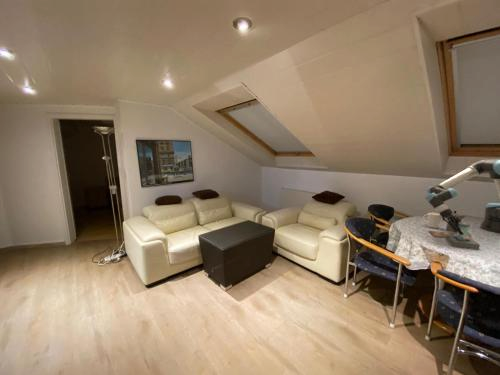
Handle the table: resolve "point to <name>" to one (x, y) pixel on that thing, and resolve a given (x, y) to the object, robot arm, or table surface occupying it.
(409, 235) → the table surface
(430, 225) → the mug
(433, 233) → the pad
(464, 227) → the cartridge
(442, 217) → the coffeepot
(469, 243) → the housing
